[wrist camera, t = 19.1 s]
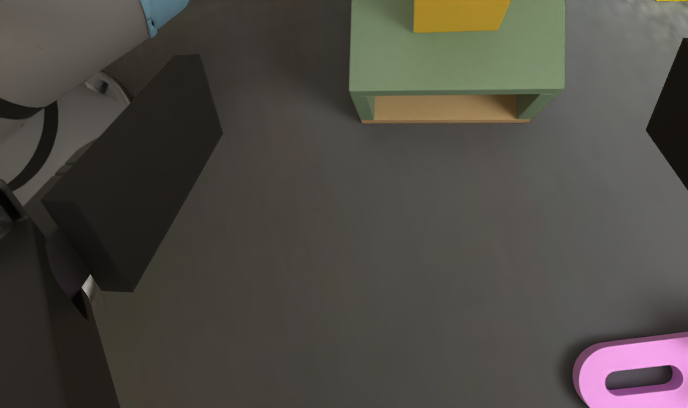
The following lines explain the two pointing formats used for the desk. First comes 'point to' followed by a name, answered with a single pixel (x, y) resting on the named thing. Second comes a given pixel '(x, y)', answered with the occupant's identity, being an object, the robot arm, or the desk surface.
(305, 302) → the desk surface
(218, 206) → the desk surface
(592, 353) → the bracket
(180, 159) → the robot arm
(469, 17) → the package
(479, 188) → the desk surface
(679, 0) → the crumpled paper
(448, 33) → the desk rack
